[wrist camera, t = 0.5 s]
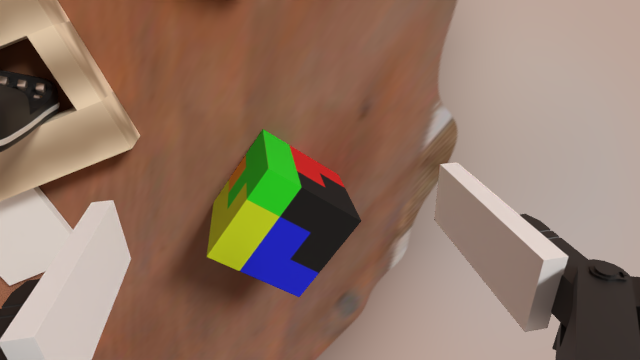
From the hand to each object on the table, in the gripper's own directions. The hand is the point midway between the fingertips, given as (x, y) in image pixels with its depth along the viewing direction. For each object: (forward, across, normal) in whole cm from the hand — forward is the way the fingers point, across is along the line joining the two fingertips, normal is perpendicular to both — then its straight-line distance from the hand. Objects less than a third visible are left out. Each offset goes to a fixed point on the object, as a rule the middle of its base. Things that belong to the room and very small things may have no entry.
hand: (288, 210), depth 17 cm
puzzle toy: (+26, 0, -12) cm, 29 cm away
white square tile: (+26, -26, -14) cm, 40 cm away
